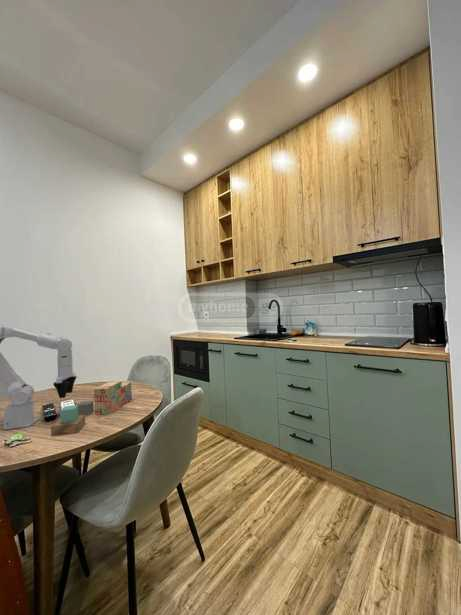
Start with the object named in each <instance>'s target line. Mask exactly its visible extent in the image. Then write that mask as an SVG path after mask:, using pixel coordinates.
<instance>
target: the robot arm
mask: <svg viewBox="0 0 461 615" xmlns="http://www.w3.org/2000/svg"><path fill="white" fill-rule="evenodd" d="M6 338H7V339H8V338H20V339H23V340H27V341H31V342H34V343H36V344H37V345H38V346H39V347H42V348H47V349H51V350H57V376H56V379H55V382H53V386H54V388H55V389H56V392H57V394H58V397H59V399H65V398H66V397H67V394H72V393H73V390H74V384H75V382H76V379H77V374H76V373H75V372H74V370H73V350H72V347H73V341H71V340H70V339H68V338H64V337H63V336H55V335H52V333H51V332H47V333H46V332H45V333H41V334H37V333H34V332H31V331H28V330H23V329H22V328H21V329H20V328H17V327H14V326H7V325H6V326H5V325H2V324H0V345H1V343H2V342H3V341H4V340H5V339H6ZM0 380H1V381H2V382H3V384H4V385H5V387H6V388H7V392H8V394H9V396H10V402H11V404H8V405H7V406H5V408H4V412H3V428H2V430H3V429H4V430H11V429H12V430H13V429H20V428H26V427H28V428H29V427H30V426H32V425H33V424H34V423H36V422H37V421H38V420H39V417H36V418H35V408H34V407H35V406H34V405H35V404H34V403H35V402H34V401H35V400H34V399H33V398H32V397H33V396H34V394H35V389H34V388H33V386H32V385H29V384H27V383H26V381H24V380H23V379H21V377H20V376H19V375H18V373H17V372H16V371H15V369H14V368H13V367H12V365H11V364H10V363H9V362H8V360H7V359H6V358H5V357H4V355H3V354H2V353H1V351H0Z"/></svg>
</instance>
